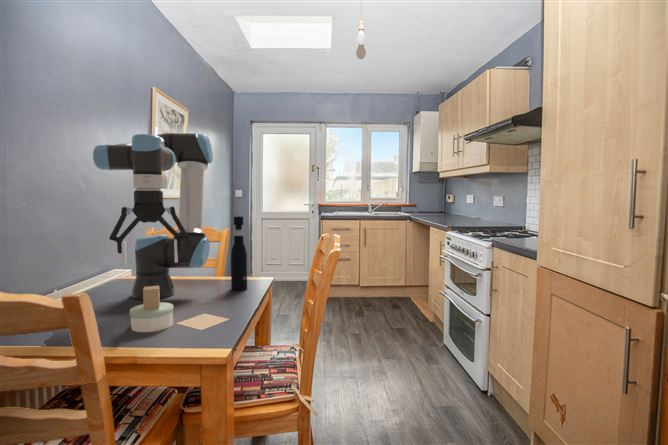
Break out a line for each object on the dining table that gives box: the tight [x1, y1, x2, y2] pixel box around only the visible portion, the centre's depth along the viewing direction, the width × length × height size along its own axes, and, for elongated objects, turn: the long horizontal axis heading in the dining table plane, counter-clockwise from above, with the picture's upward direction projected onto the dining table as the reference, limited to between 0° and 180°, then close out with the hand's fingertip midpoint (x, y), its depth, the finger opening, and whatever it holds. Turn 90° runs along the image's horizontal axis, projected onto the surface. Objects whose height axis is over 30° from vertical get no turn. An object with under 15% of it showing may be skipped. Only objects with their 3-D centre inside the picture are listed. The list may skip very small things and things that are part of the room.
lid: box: [129, 286, 175, 318], centre depth 114 cm, size 12×12×7 cm
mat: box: [175, 313, 230, 331], centre depth 118 cm, size 11×11×1 cm
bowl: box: [130, 311, 174, 333], centre depth 114 cm, size 11×11×5 cm
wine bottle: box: [230, 216, 248, 292], centre depth 160 cm, size 6×6×30 cm
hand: (150, 263), depth 113 cm, fingers open, 13 cm apart
